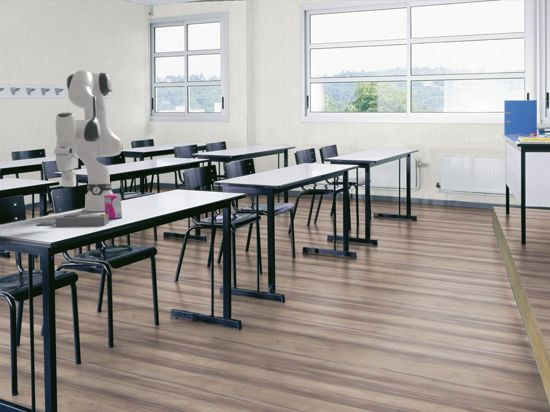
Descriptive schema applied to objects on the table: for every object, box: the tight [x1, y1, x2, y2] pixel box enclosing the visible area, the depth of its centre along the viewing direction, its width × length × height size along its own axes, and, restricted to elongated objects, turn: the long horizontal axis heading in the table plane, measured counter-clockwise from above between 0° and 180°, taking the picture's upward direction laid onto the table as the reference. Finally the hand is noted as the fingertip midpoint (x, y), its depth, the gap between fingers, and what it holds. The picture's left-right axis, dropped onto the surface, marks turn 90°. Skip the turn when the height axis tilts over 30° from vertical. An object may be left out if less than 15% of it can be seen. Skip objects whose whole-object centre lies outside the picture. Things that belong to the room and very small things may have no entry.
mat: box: [35, 221, 55, 227], centre depth 302 cm, size 7×7×1 cm
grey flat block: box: [54, 212, 112, 227], centre depth 304 cm, size 16×22×5 cm
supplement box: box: [104, 193, 123, 220], centre depth 317 cm, size 6×6×12 cm
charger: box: [60, 169, 77, 188], centre depth 298 cm, size 4×5×7 cm
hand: (68, 179), depth 298 cm, fingers closed on charger, 4 cm apart
